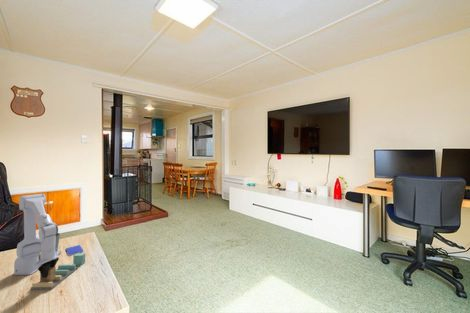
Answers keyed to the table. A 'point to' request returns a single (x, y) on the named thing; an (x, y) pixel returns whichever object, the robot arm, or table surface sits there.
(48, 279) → the walnut plug
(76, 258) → the teal plug
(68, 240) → the table surface
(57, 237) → the grey-green bucket
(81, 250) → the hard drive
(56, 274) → the slot comb
